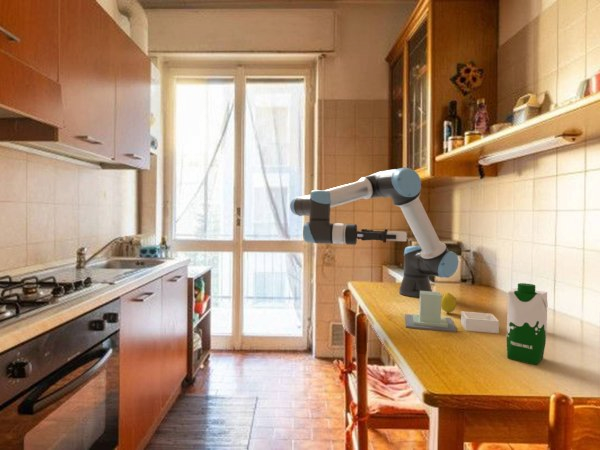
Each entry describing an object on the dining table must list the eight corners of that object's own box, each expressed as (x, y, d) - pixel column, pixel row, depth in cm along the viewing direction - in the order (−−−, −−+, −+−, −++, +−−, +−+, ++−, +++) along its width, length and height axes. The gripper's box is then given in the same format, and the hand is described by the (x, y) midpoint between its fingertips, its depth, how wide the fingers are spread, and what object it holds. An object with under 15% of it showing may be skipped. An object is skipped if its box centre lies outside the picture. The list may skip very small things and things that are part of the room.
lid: (412, 316, 145) (413, 289, 144) (444, 319, 142) (445, 291, 142) (413, 324, 134) (414, 295, 134) (448, 327, 131) (449, 297, 131)
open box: (460, 322, 140) (461, 311, 140) (491, 325, 138) (492, 313, 138) (465, 330, 130) (466, 318, 130) (498, 333, 128) (499, 321, 128)
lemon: (457, 315, 150) (457, 294, 150) (441, 314, 151) (442, 293, 151) (454, 312, 155) (455, 291, 155) (439, 311, 156) (440, 291, 156)
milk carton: (502, 358, 105) (505, 283, 105) (511, 350, 112) (514, 279, 112) (540, 367, 100) (544, 288, 99) (547, 358, 106) (551, 283, 106)
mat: (405, 315, 148) (405, 314, 148) (450, 319, 144) (450, 318, 144) (406, 327, 132) (406, 325, 132) (457, 332, 128) (457, 330, 128)
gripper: (349, 242, 156) (405, 244, 151) (340, 246, 132) (406, 249, 127) (349, 223, 156) (405, 224, 151) (341, 224, 132) (407, 226, 127)
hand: (406, 236), depth 139 cm, fingers open, 13 cm apart
